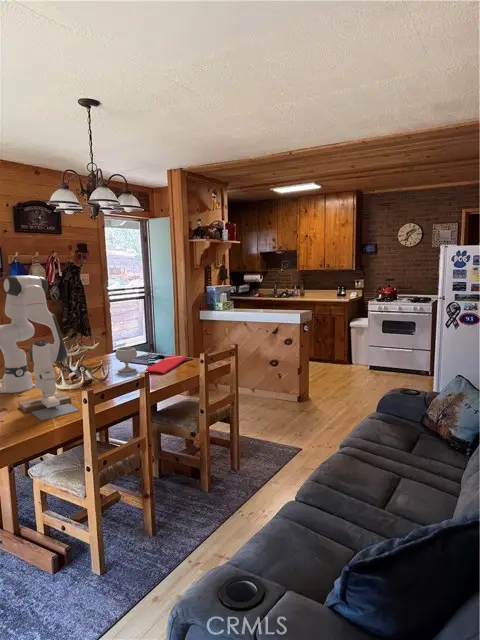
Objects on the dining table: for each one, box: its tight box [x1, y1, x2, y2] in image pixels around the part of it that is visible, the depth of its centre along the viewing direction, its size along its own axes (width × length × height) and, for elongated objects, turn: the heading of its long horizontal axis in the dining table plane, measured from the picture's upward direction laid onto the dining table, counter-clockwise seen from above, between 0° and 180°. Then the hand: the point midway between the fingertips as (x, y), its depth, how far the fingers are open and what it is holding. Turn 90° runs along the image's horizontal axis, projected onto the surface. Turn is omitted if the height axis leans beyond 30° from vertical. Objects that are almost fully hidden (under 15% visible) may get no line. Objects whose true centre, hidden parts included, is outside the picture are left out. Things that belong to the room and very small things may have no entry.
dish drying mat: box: [144, 355, 187, 376], centre depth 298 cm, size 16×41×4 cm, turn 165°
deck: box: [18, 392, 72, 414], centre depth 223 cm, size 12×22×2 cm, turn 132°
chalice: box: [115, 346, 138, 373], centre depth 290 cm, size 14×14×15 cm
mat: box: [30, 403, 80, 421], centre depth 213 cm, size 15×18×1 cm
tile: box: [41, 396, 60, 408], centre depth 218 cm, size 9×6×2 cm, turn 42°
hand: (46, 398), depth 222 cm, fingers closed
